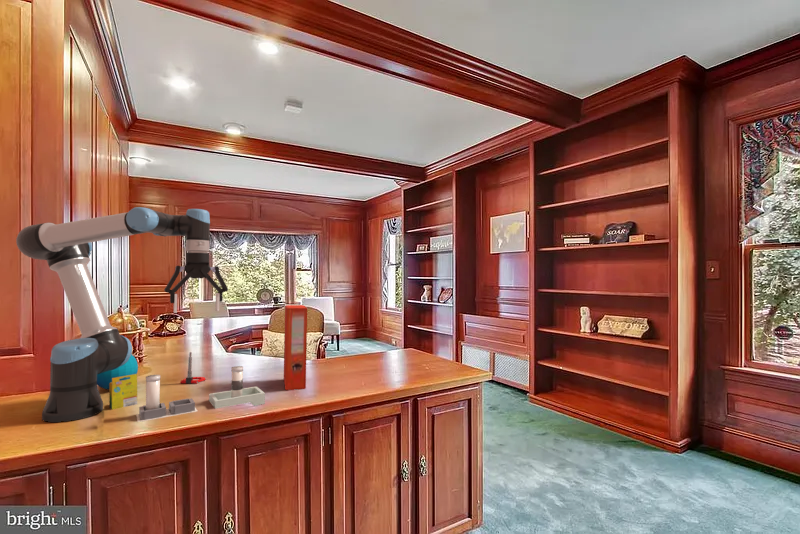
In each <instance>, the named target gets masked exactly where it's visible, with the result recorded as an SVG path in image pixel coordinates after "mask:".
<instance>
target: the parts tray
mask: <svg viewBox="0 0 800 534" xmlns="http://www.w3.org/2000/svg"><path fill="white" fill-rule="evenodd" d="M208 401H209V403H210V404H211V405H212V407H213V408H214V409H220V408H225V407H231V406H232V407H233V406H238V405H245V404H249V403H250V404H251V405H253V407H255V406H256V407H257V406H260V405H261V404H262V405H265V404H266V393H265V392H264V391H263V390H262V389H260V388H259V387H258V386H257V385H256V386H251V387H243V396H239V397H233V398H231V390H225V391H220V392H213V393H209V394H208ZM262 405H261V406H262Z"/></svg>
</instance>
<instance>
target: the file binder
mask: <svg viewBox="0 0 800 534" xmlns="http://www.w3.org/2000/svg"><path fill="white" fill-rule="evenodd" d="M307 338H308V307H307V306H306V305H303V304H294V305H293V304H286V305H285V306H284V338H283V339H284V340H283V341H284V345H283V349H284V350H283V351H284V352H283V383H284V388H285V391H295V390H294V389H298V390H305V389H307V386H306V385H307V350H308V349H307V341H308V340H307Z"/></svg>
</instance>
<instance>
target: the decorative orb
mask: <svg viewBox="0 0 800 534" xmlns="http://www.w3.org/2000/svg"><path fill="white" fill-rule="evenodd" d="M138 370H139V362H138V360H137V358H135V356H134V355H133V354H131V356H130V358H129V360H128V361H127V362H126V363H125V364H124V365H122V366H120V367H118V368H116V369H114V370H109V371H106V372H103V373H100V374H97V387H99V388H101V389H103V390H104V389H105V390H109V383H111V382H112V378H116V377H121V376H127V375H133V374H137V375H138ZM126 379H130V377H127V378H126V377H124V378H122V379H119V380H120V381H121V380H126Z"/></svg>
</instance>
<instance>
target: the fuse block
mask: <svg viewBox="0 0 800 534" xmlns="http://www.w3.org/2000/svg"><path fill="white" fill-rule="evenodd" d="M138 408H139V410H138V413H136V414H135V415H136V420H137V421H136V422H137V423H140V422H145V421H151V420H158V419H163V418H164V419H165V418H168V417H174V416H175V417H176V416H180V415H185V414H190V413H191V414H192V413H197V412H198V409H197V408H196V402H195V401H194V399H193V398H191V397H190V398H184V399H183V398H182V399H179V400H177V399H176V400H172V401H169V402H168V408H167V407H166V404H165V402H161V403H159V408H158V409H152V410H146V404H145V405H142V406H139V407H138Z"/></svg>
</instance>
